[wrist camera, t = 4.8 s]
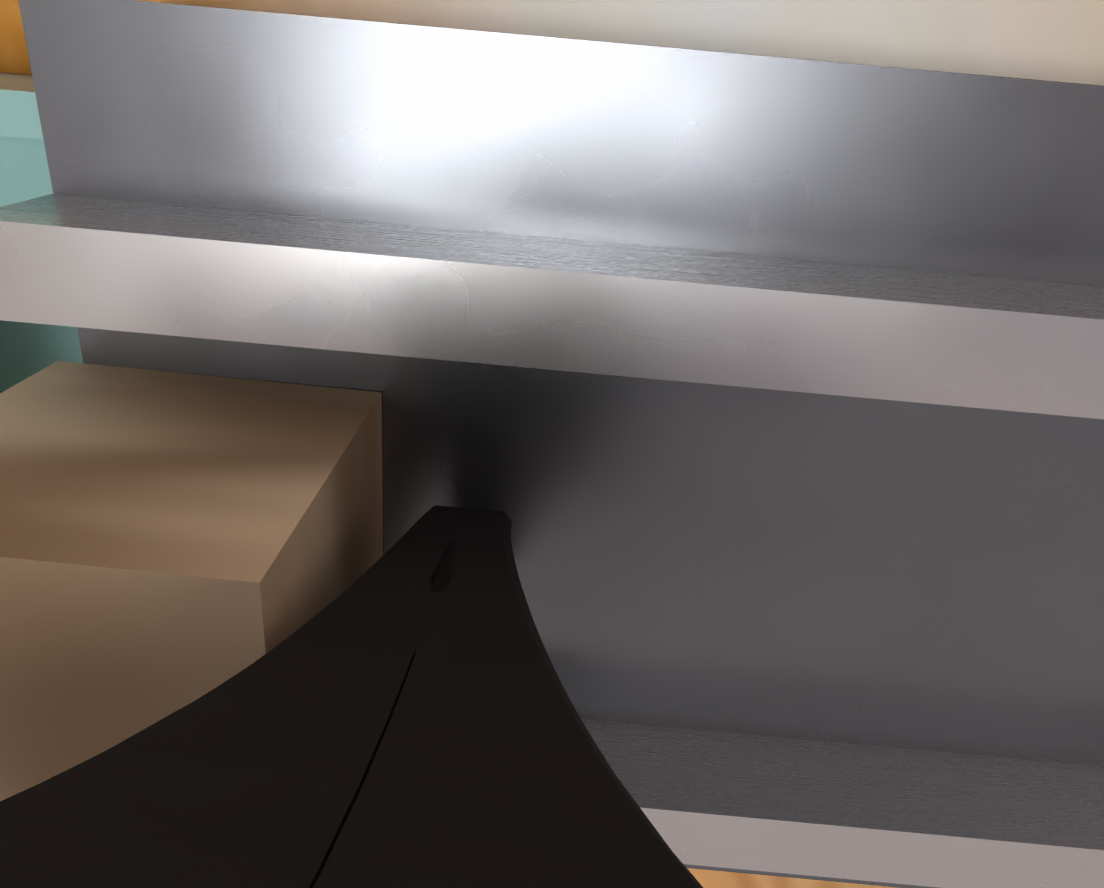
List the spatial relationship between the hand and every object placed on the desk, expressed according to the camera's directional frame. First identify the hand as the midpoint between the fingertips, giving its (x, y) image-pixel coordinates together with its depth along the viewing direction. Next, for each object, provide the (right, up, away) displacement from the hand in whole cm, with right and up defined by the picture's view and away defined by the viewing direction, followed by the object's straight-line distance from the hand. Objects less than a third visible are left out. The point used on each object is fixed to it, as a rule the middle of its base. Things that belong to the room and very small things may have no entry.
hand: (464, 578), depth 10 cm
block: (-3, +1, +1) cm, 3 cm away
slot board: (+3, +1, +4) cm, 5 cm away
